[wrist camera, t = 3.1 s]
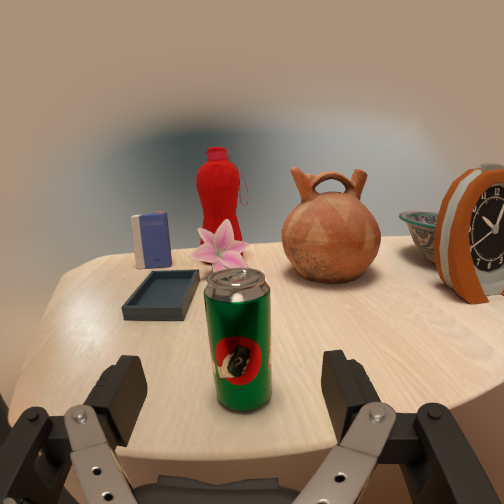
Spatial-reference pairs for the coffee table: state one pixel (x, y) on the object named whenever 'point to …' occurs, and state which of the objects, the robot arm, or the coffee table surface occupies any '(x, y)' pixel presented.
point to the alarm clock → (472, 234)
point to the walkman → (151, 240)
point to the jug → (330, 229)
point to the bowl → (422, 230)
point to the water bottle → (219, 191)
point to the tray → (162, 296)
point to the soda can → (240, 336)
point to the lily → (220, 248)
